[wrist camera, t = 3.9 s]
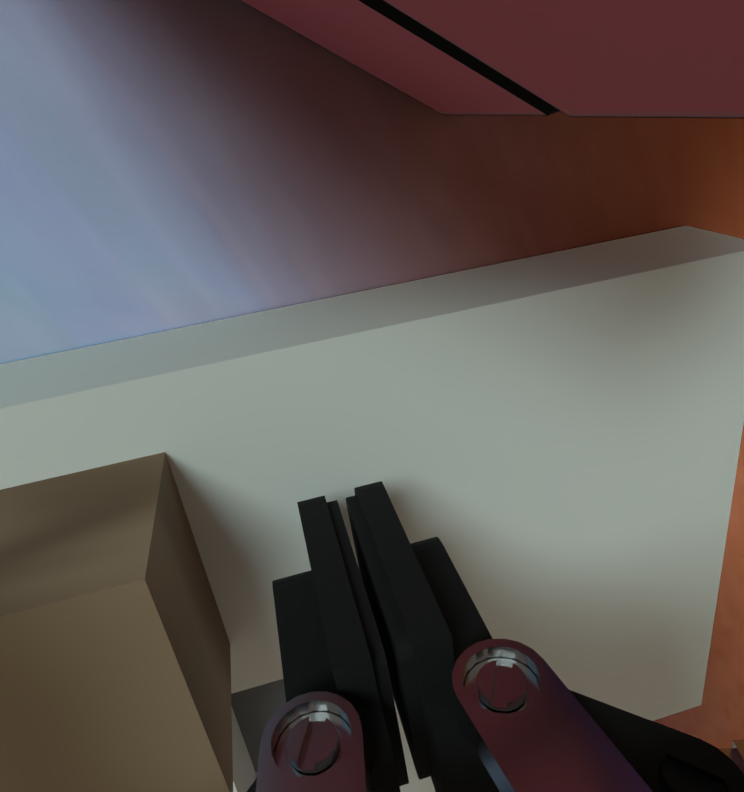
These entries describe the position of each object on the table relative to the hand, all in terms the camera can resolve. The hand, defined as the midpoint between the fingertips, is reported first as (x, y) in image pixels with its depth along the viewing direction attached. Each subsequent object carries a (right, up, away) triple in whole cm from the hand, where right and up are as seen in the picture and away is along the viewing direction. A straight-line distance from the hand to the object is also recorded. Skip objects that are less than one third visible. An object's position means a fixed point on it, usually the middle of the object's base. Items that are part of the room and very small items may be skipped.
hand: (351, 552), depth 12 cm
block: (-5, -1, 0) cm, 6 cm away
